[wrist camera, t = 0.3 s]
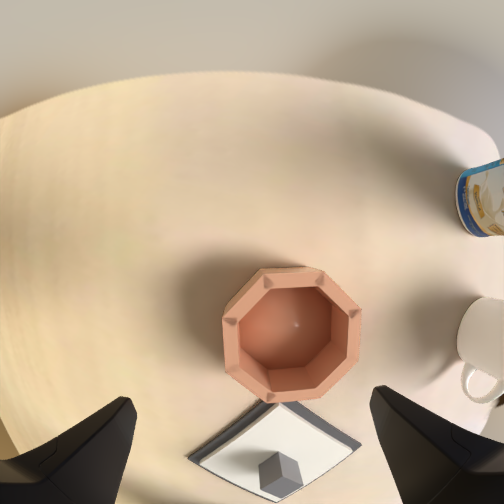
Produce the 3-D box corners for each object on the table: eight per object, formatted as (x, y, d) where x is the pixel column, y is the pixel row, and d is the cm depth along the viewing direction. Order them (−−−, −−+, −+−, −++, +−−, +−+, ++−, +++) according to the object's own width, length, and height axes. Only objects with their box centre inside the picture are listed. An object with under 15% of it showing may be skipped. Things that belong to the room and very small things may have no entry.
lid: (276, 497, 23) (279, 523, 18) (200, 459, 23) (194, 488, 18) (350, 447, 23) (364, 473, 19) (278, 401, 23) (284, 429, 18)
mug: (428, 373, 24) (486, 412, 13) (475, 283, 24) (540, 293, 13) (459, 391, 24) (508, 423, 13) (500, 312, 24) (555, 326, 13)
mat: (275, 501, 24) (276, 503, 23) (188, 456, 23) (187, 459, 23) (360, 443, 24) (361, 445, 23) (277, 387, 23) (278, 389, 23)
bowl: (285, 392, 23) (293, 421, 18) (204, 327, 23) (194, 346, 18) (359, 317, 24) (383, 332, 19) (283, 243, 23) (293, 241, 18)
